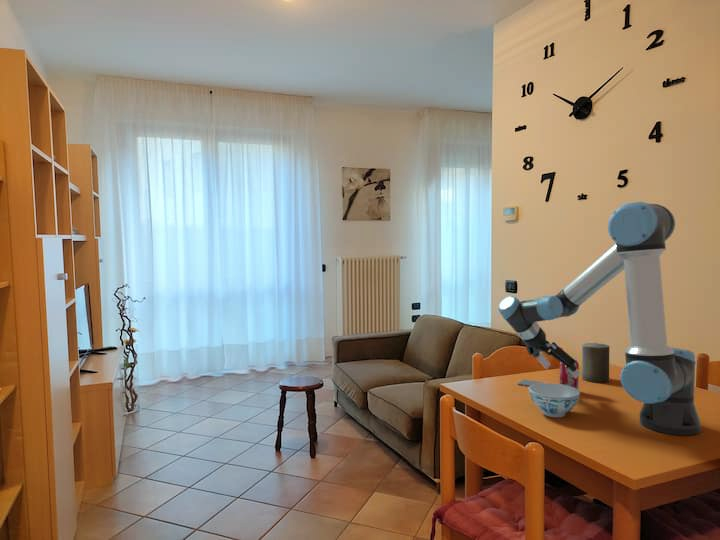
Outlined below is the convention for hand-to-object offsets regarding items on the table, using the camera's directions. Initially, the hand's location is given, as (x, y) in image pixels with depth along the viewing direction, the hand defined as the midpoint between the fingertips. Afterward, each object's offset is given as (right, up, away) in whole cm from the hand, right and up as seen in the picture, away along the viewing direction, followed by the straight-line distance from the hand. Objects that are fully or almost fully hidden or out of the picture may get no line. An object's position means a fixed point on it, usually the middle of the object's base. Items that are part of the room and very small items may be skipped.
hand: (562, 370), depth 174 cm
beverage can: (+2, -8, 0) cm, 8 cm away
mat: (-8, -7, +10) cm, 14 cm away
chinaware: (-12, -9, -22) cm, 26 cm away
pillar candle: (+20, -7, +16) cm, 26 cm away
